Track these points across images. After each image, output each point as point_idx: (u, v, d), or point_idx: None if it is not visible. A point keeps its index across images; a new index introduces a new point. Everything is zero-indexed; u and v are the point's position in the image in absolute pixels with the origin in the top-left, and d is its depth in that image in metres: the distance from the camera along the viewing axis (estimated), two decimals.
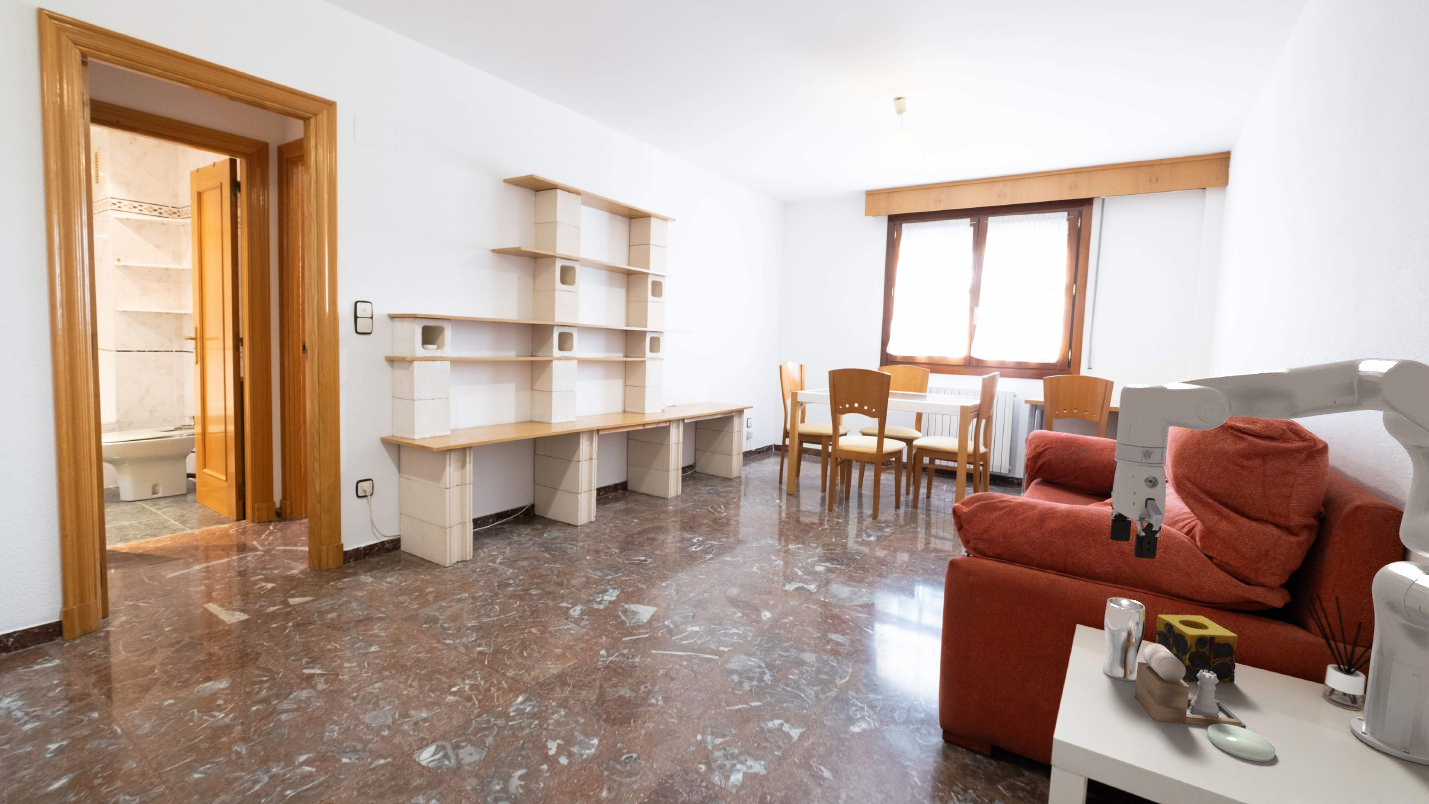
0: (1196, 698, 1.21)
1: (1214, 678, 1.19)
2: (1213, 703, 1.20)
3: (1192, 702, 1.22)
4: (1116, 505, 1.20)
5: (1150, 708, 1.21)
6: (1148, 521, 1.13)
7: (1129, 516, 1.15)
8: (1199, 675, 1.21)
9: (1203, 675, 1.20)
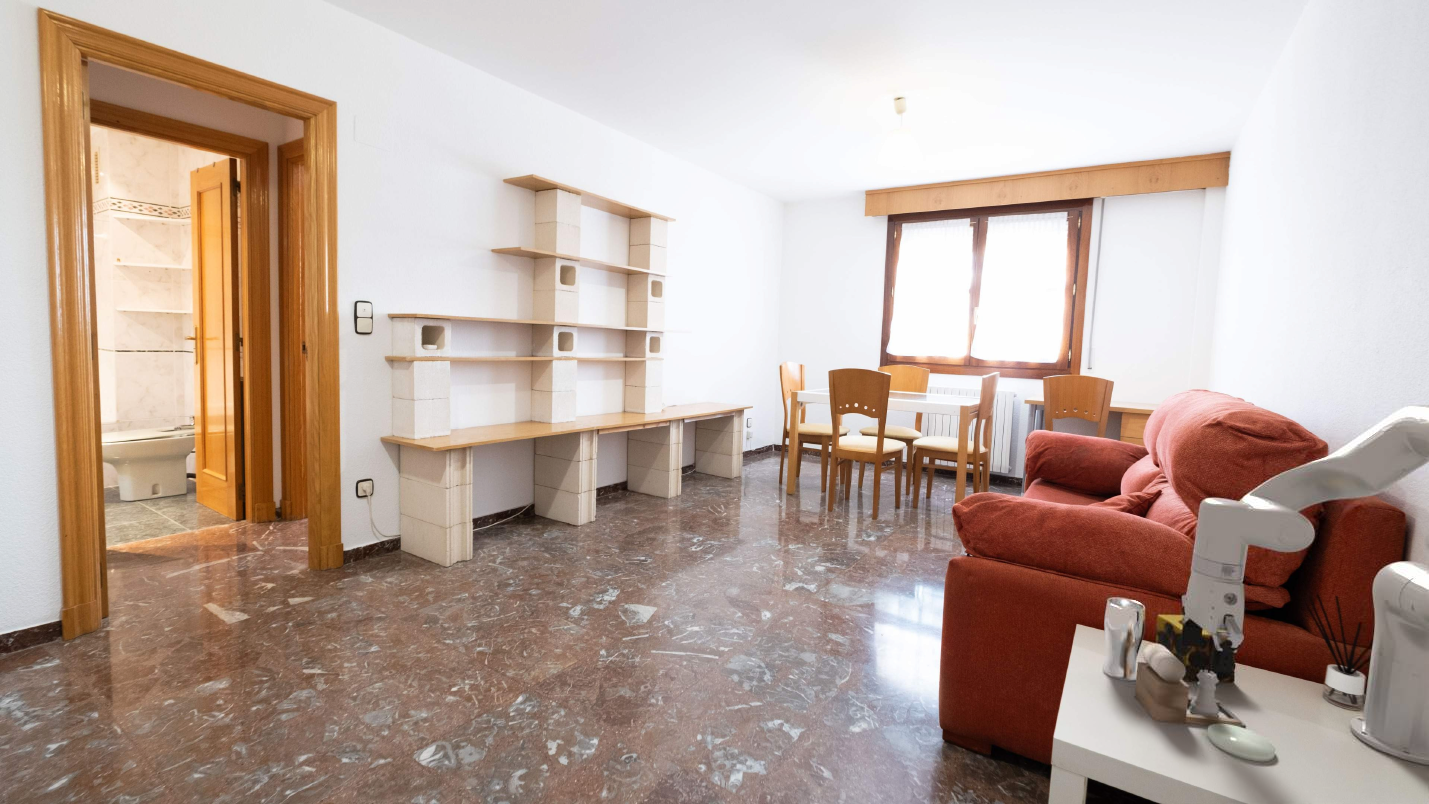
0: (1196, 698, 1.21)
1: (1214, 678, 1.19)
2: (1213, 703, 1.20)
3: (1192, 702, 1.22)
4: (1190, 613, 1.22)
5: (1150, 708, 1.21)
6: (1225, 636, 1.15)
7: (1205, 629, 1.17)
8: (1199, 675, 1.21)
9: (1203, 675, 1.20)
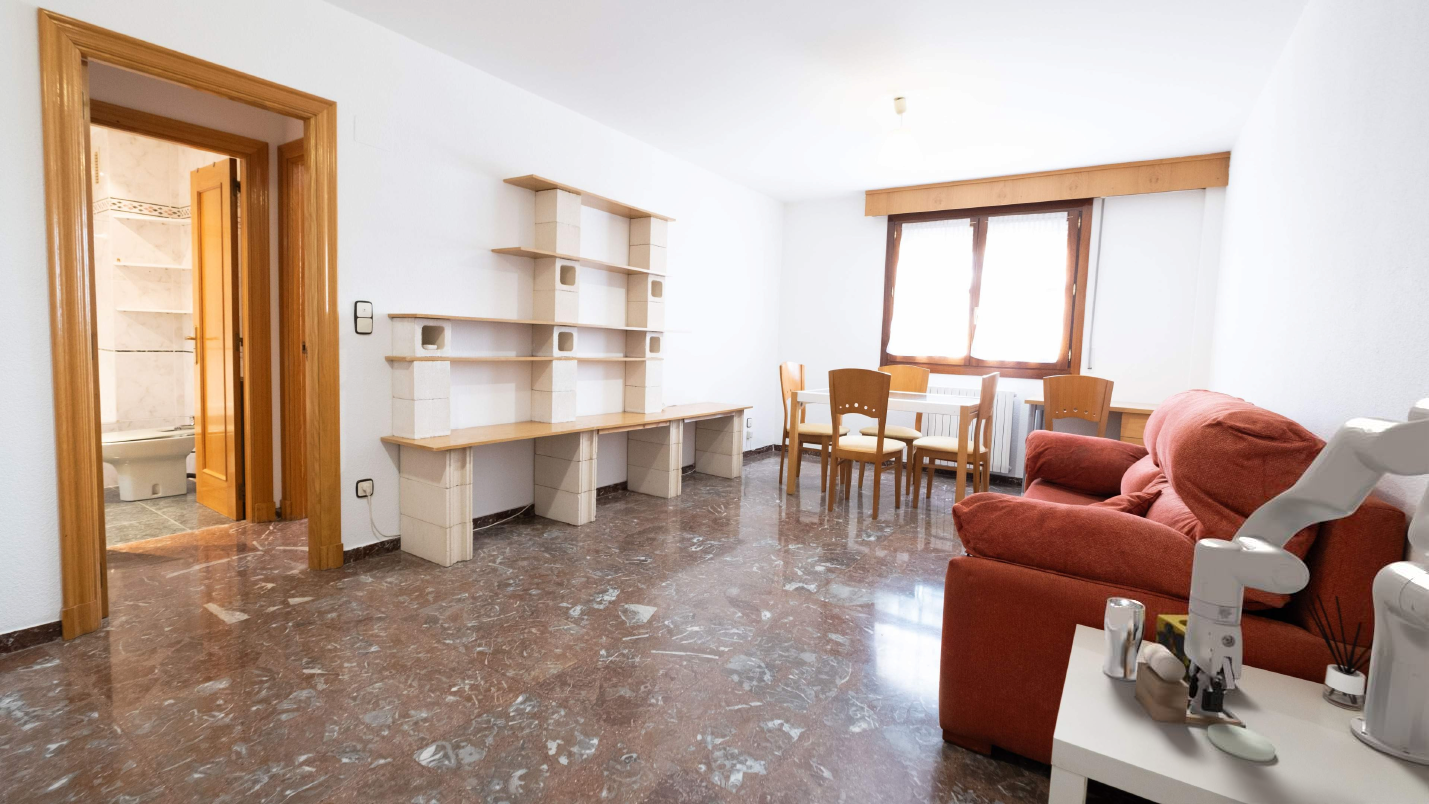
0: (1196, 698, 1.21)
1: (1214, 678, 1.19)
2: None
3: (1192, 702, 1.22)
4: (1189, 653, 1.23)
5: (1150, 708, 1.21)
6: None
7: (1205, 670, 1.18)
8: (1199, 675, 1.21)
9: (1203, 675, 1.20)
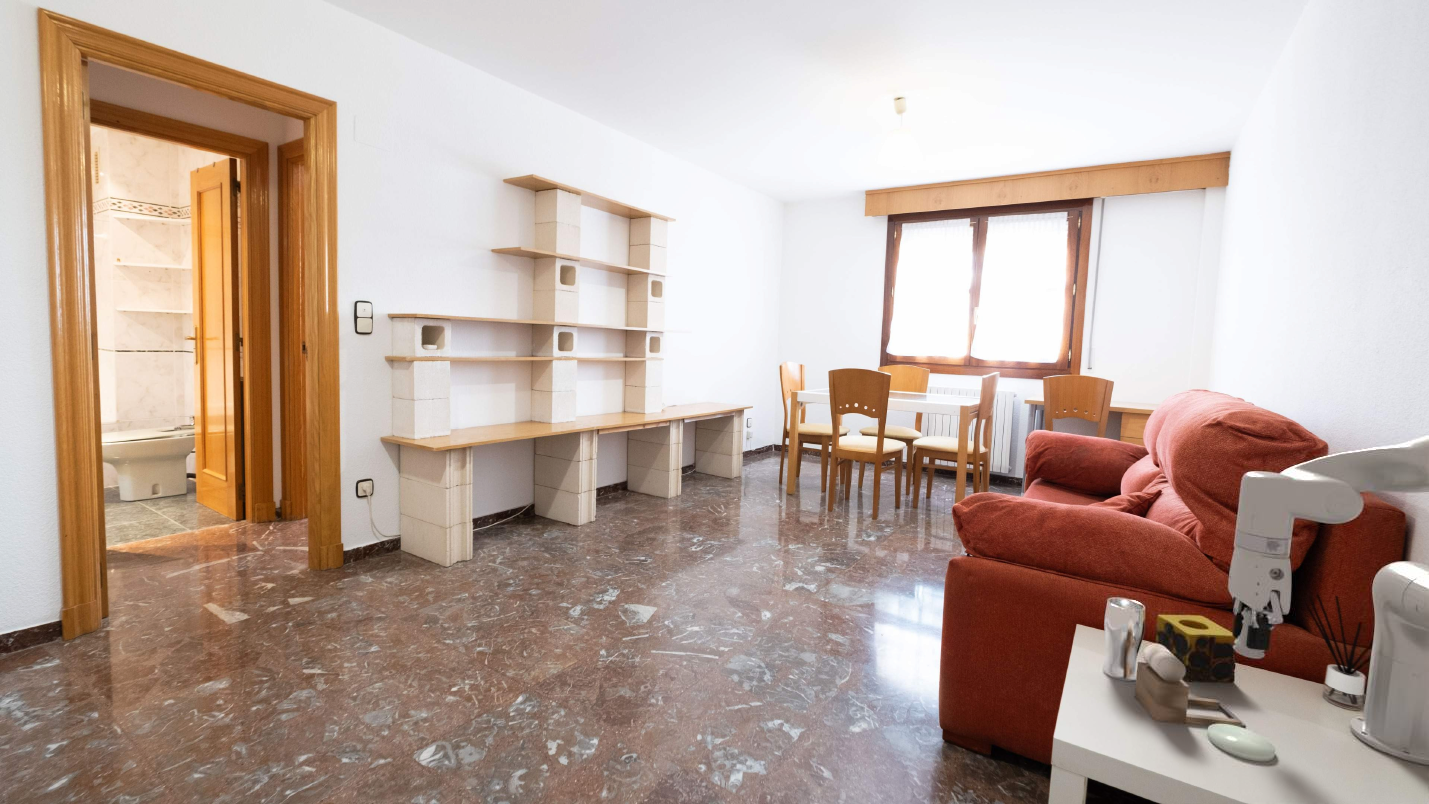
0: (1240, 636, 1.17)
1: (1260, 615, 1.15)
2: None
3: (1236, 641, 1.18)
4: (1234, 591, 1.19)
5: (1150, 708, 1.21)
6: (1265, 613, 1.14)
7: (1251, 606, 1.14)
8: (1244, 612, 1.17)
9: (1248, 612, 1.16)
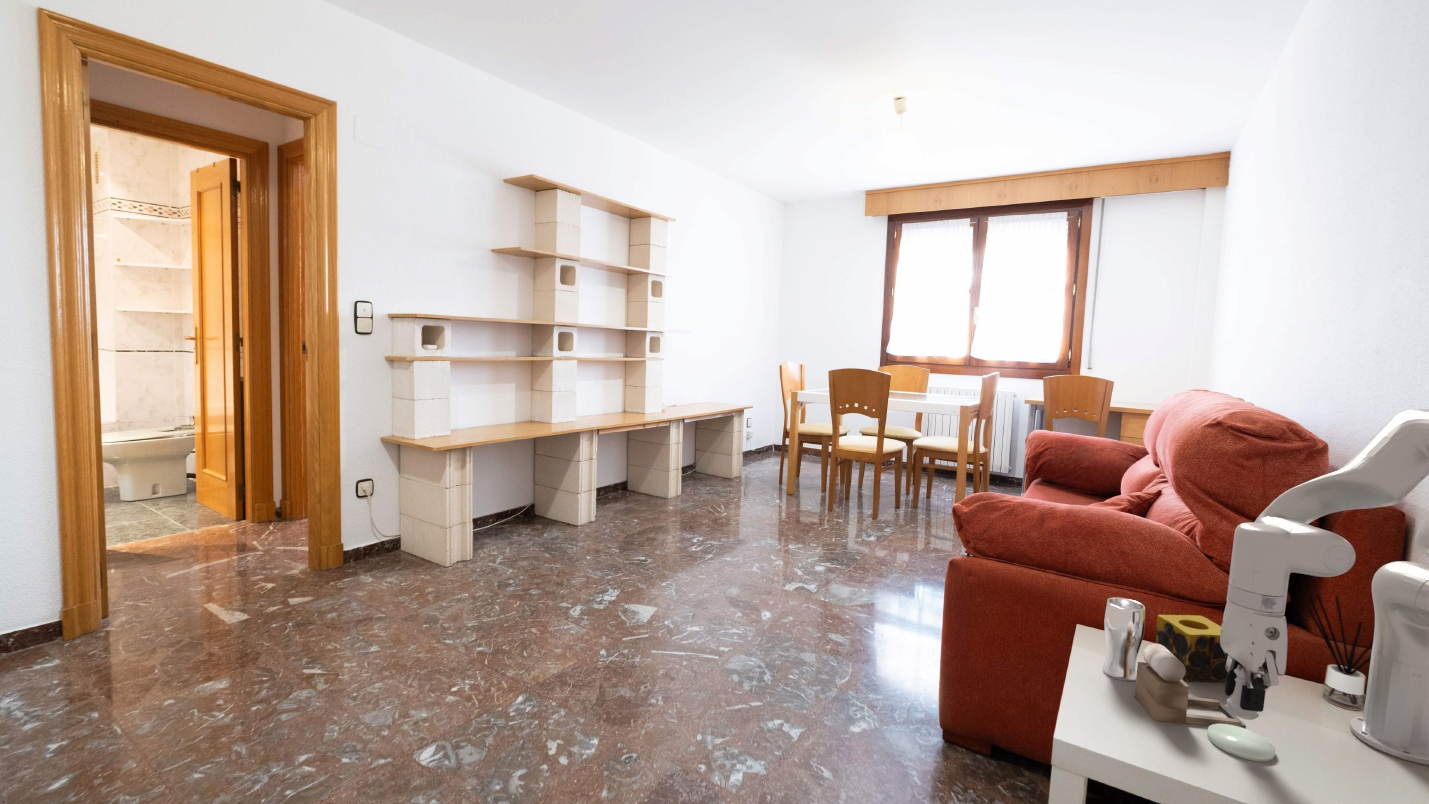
0: (1233, 695, 1.12)
1: (1254, 674, 1.10)
2: None
3: (1229, 700, 1.12)
4: (1226, 647, 1.13)
5: (1150, 708, 1.21)
6: (1260, 673, 1.08)
7: (1245, 665, 1.08)
8: (1237, 670, 1.11)
9: (1242, 670, 1.10)
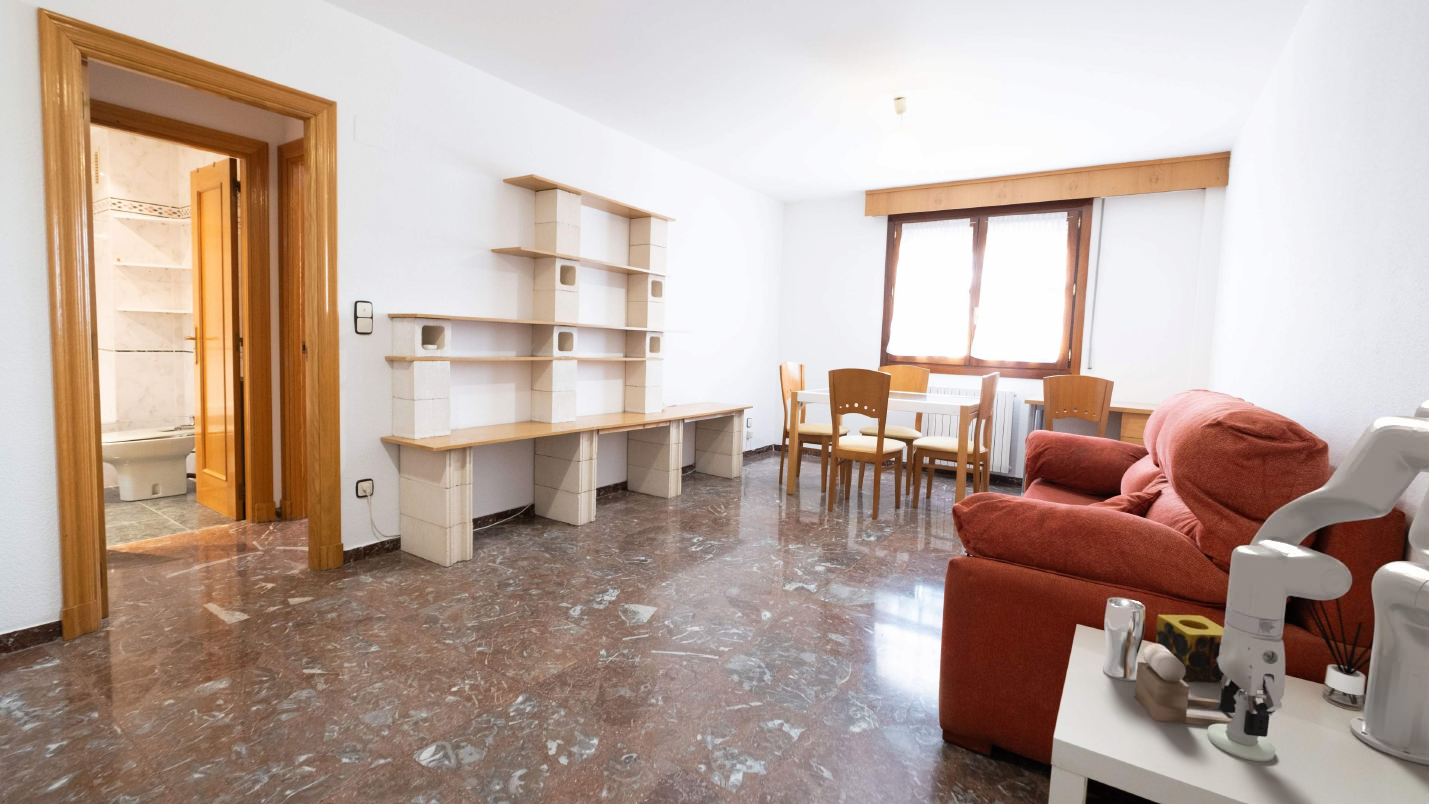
0: (1233, 721, 1.12)
1: None
2: None
3: (1228, 725, 1.13)
4: (1225, 669, 1.14)
5: (1150, 708, 1.21)
6: (1261, 697, 1.08)
7: (1243, 688, 1.09)
8: (1236, 697, 1.12)
9: (1241, 697, 1.11)
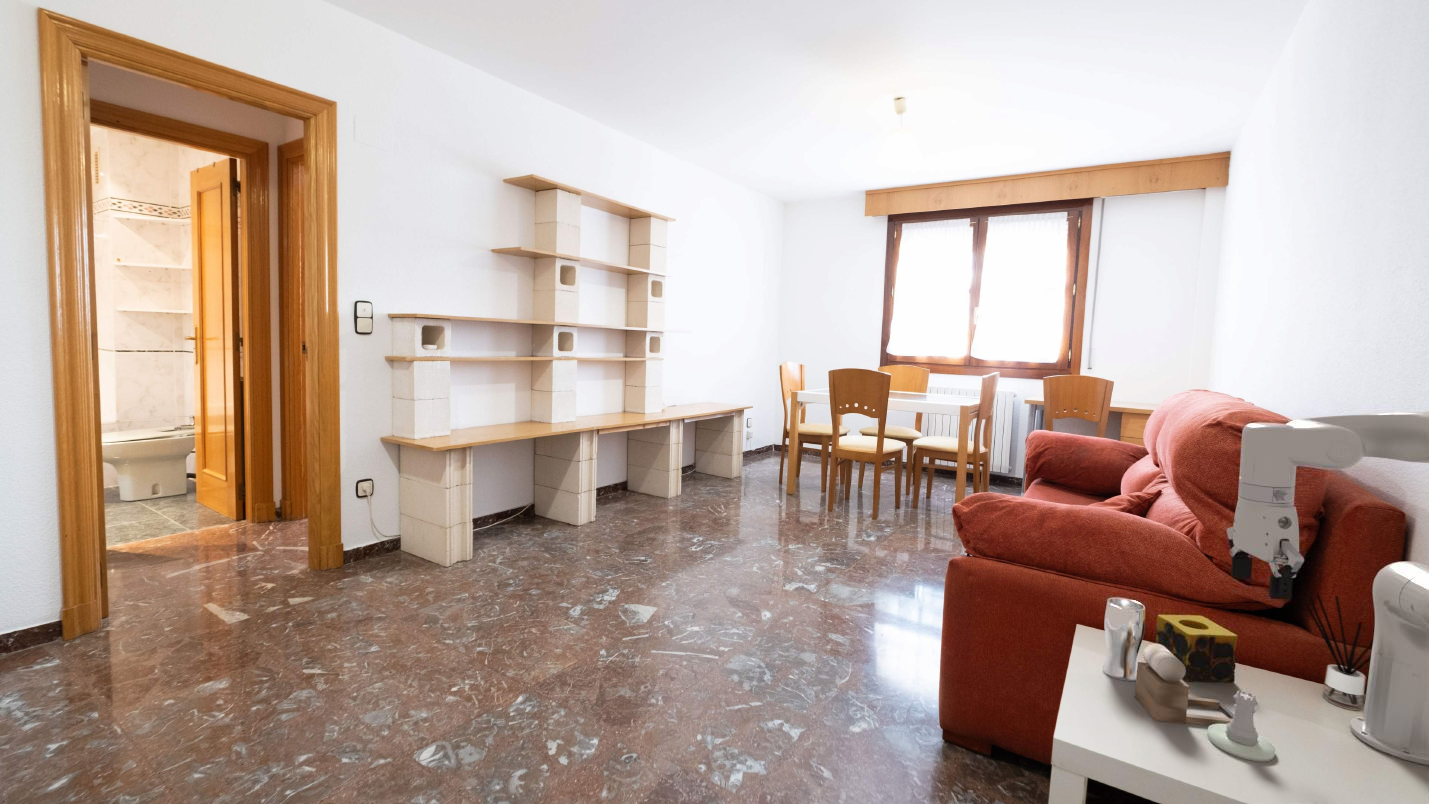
0: (1233, 721, 1.12)
1: (1253, 700, 1.10)
2: (1252, 727, 1.10)
3: (1228, 726, 1.13)
4: (1240, 544, 1.19)
5: (1150, 708, 1.21)
6: (1282, 562, 1.12)
7: (1260, 557, 1.14)
8: (1236, 697, 1.12)
9: (1241, 697, 1.11)
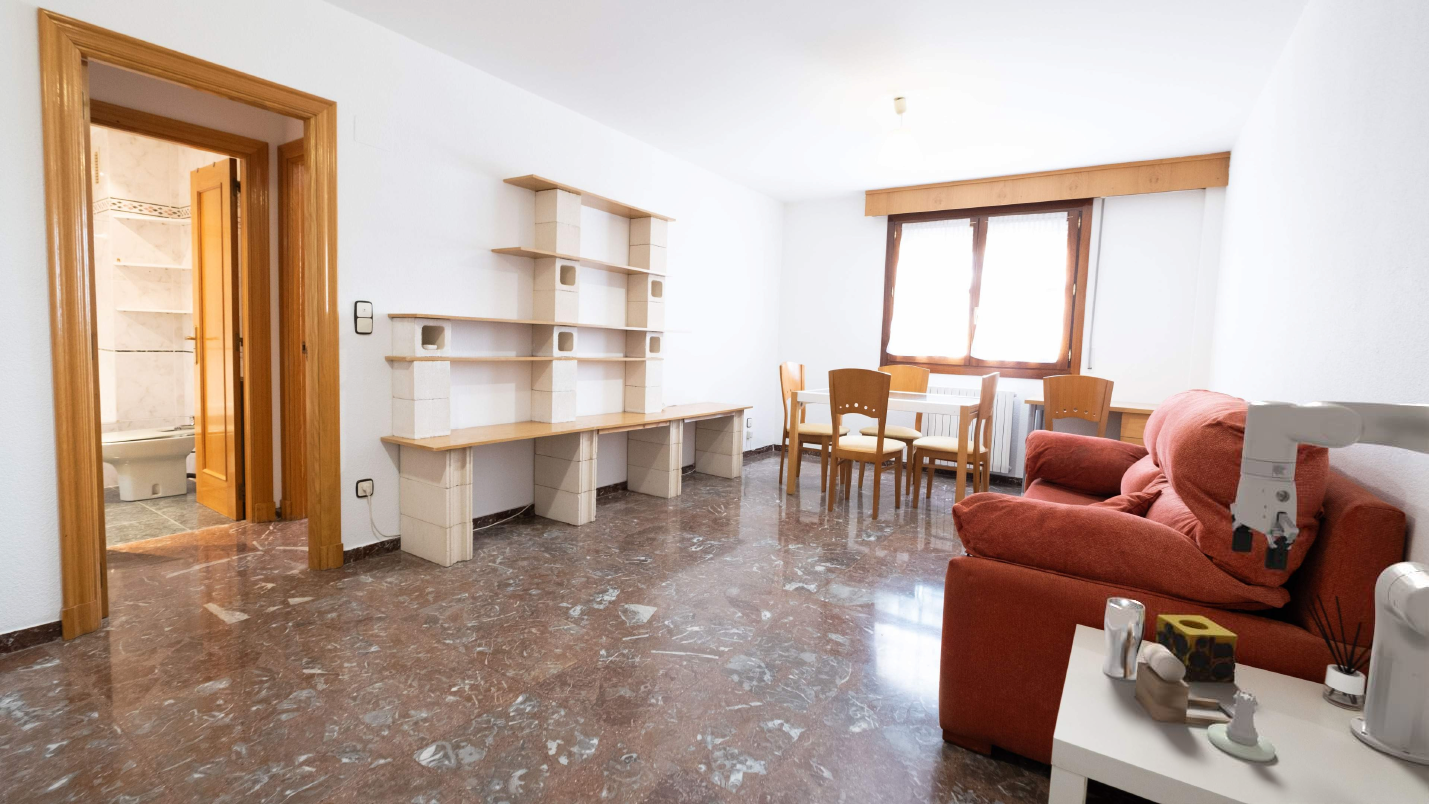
0: (1233, 721, 1.12)
1: (1253, 700, 1.10)
2: (1252, 727, 1.10)
3: (1228, 726, 1.13)
4: (1240, 517, 1.24)
5: (1150, 708, 1.21)
6: (1279, 534, 1.17)
7: (1258, 529, 1.19)
8: (1236, 697, 1.12)
9: (1241, 697, 1.11)
